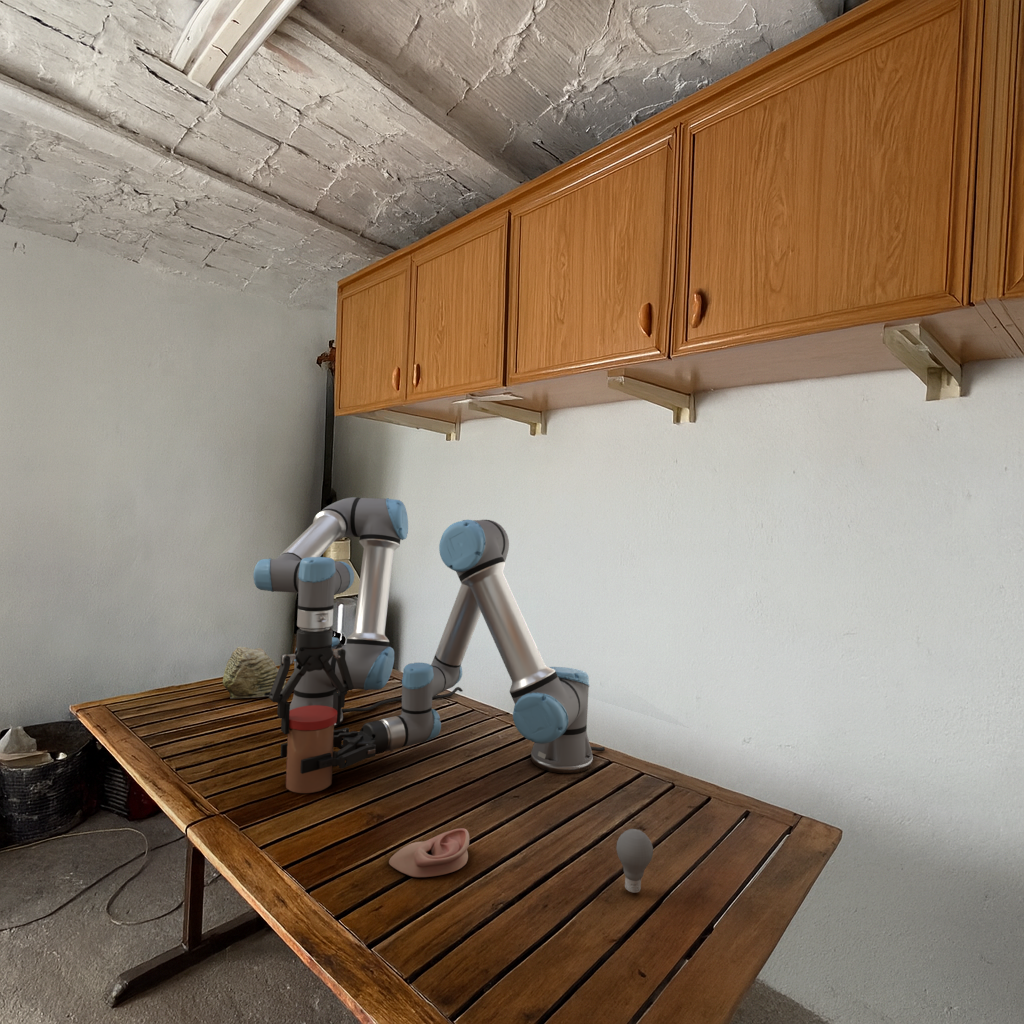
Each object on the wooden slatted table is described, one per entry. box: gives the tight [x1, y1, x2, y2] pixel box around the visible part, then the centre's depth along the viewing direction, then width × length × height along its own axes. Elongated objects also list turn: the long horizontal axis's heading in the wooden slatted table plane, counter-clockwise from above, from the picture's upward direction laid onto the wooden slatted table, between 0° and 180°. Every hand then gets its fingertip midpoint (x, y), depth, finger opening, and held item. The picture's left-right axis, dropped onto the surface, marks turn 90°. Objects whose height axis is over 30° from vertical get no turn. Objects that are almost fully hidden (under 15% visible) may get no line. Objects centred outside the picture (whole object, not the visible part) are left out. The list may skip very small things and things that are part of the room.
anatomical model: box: [388, 827, 470, 878], centre depth 112 cm, size 13×4×12 cm
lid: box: [289, 705, 337, 730], centre depth 140 cm, size 11×11×2 cm
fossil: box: [222, 646, 287, 699], centre depth 198 cm, size 9×18×15 cm, turn 132°
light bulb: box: [615, 828, 654, 894], centre depth 106 cm, size 6×6×10 cm
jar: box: [285, 725, 335, 794], centre depth 140 cm, size 10×10×15 cm
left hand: (311, 727), depth 140 cm, fingers closed on lid, 11 cm apart
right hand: (291, 758), depth 137 cm, fingers closed on jar, 10 cm apart
